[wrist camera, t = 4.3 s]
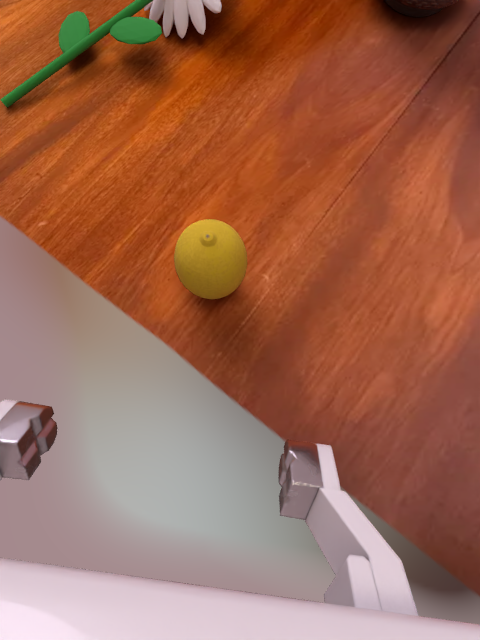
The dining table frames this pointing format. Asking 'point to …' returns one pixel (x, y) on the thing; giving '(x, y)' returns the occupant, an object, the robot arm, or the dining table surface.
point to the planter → (419, 6)
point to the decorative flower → (119, 32)
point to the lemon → (210, 259)
